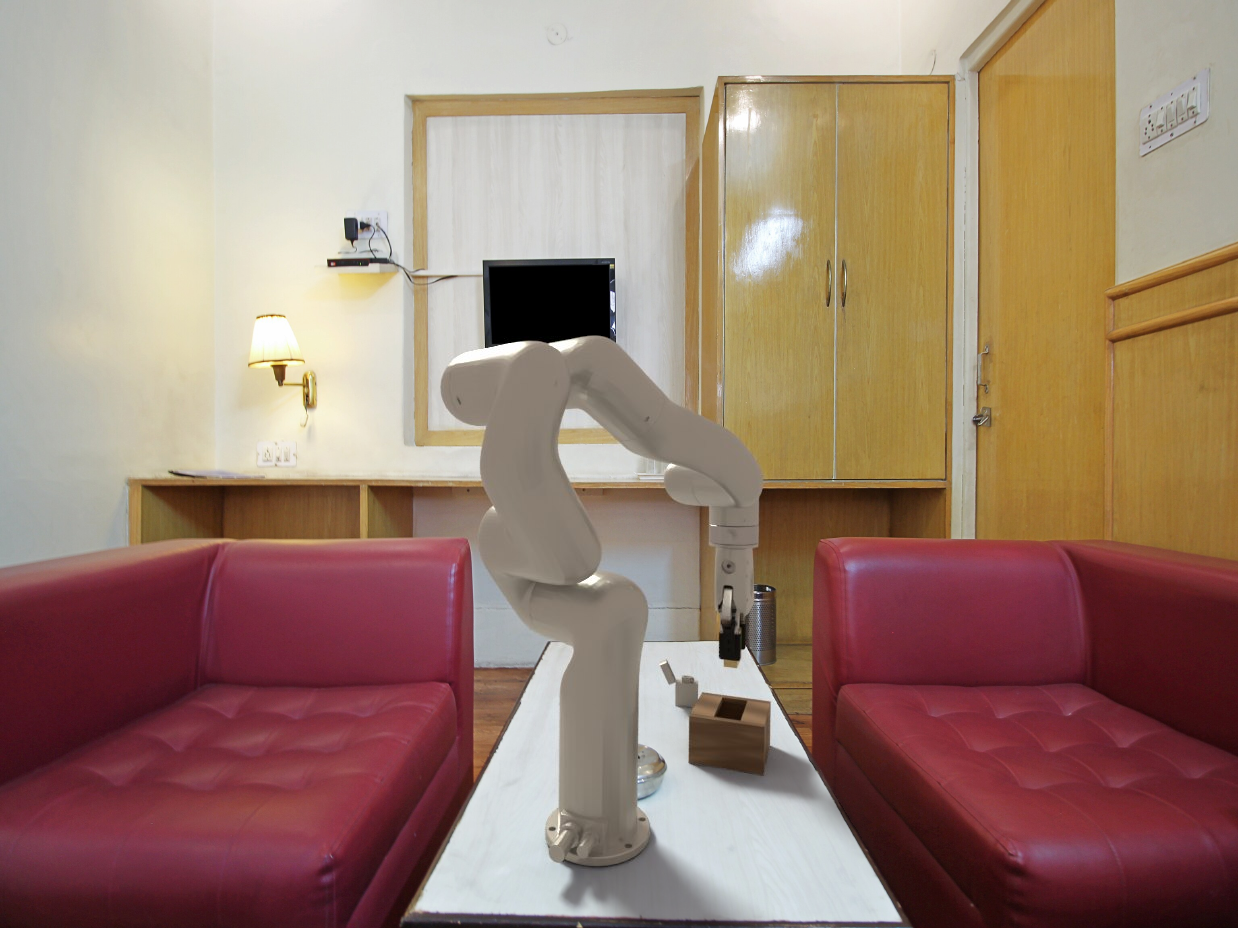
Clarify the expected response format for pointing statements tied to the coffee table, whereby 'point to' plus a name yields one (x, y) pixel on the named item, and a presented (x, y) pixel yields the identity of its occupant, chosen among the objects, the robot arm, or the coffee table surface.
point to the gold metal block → (734, 663)
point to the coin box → (730, 733)
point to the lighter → (681, 687)
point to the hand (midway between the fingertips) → (732, 652)
